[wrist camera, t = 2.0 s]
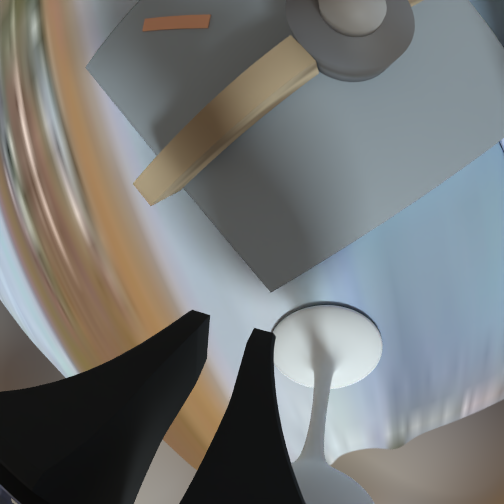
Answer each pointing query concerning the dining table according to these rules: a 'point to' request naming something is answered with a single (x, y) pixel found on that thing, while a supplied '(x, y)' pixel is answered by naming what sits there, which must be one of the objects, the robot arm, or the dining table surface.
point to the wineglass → (325, 386)
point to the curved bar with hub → (285, 79)
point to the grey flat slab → (308, 122)
